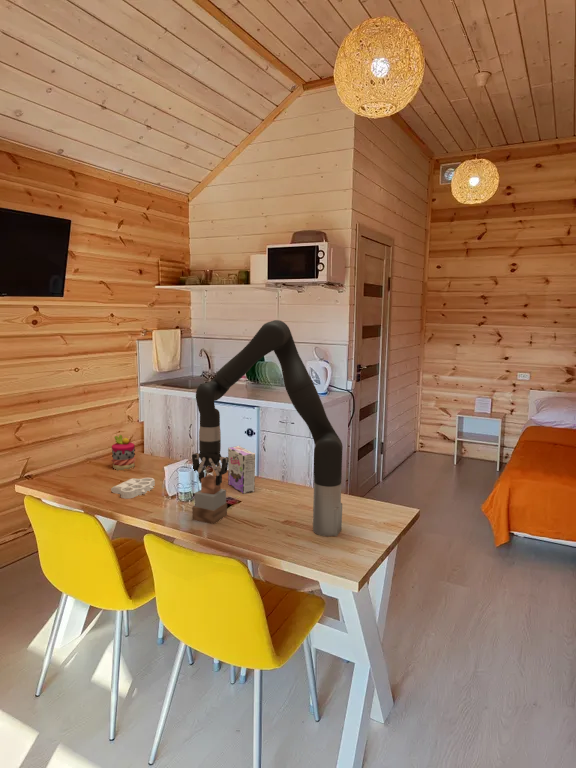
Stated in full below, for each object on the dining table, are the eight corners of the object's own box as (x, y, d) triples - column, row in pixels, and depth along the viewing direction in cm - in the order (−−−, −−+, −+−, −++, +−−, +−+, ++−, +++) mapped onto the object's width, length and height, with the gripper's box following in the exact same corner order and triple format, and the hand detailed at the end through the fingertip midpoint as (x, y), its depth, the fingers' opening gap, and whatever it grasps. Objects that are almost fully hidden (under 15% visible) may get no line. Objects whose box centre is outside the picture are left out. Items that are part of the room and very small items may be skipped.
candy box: (227, 484, 220) (227, 447, 218) (239, 482, 223) (239, 445, 221) (242, 494, 208) (243, 455, 206) (255, 491, 212) (255, 453, 209)
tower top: (225, 503, 186) (225, 489, 185) (213, 510, 179) (213, 496, 178) (207, 499, 189) (207, 486, 189) (194, 506, 182) (194, 493, 181)
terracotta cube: (220, 490, 185) (220, 476, 184) (213, 494, 180) (213, 480, 180) (208, 488, 187) (208, 474, 186) (201, 492, 182) (201, 478, 182)
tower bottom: (227, 515, 187) (227, 502, 186) (214, 524, 179) (214, 511, 178) (205, 511, 191) (205, 498, 190) (192, 520, 182) (192, 507, 182)
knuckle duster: (134, 482, 222) (162, 487, 216) (105, 496, 205) (135, 501, 200) (134, 475, 221) (162, 479, 216) (105, 488, 204) (135, 493, 199)
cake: (139, 464, 245) (138, 434, 243) (129, 471, 235) (128, 439, 233) (118, 463, 247) (117, 433, 245) (108, 470, 236) (106, 438, 234)
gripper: (233, 437, 182) (233, 483, 184) (198, 433, 187) (198, 477, 189) (222, 442, 175) (222, 489, 177) (186, 438, 180) (187, 484, 182)
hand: (210, 483), depth 183 cm, fingers open, 6 cm apart
